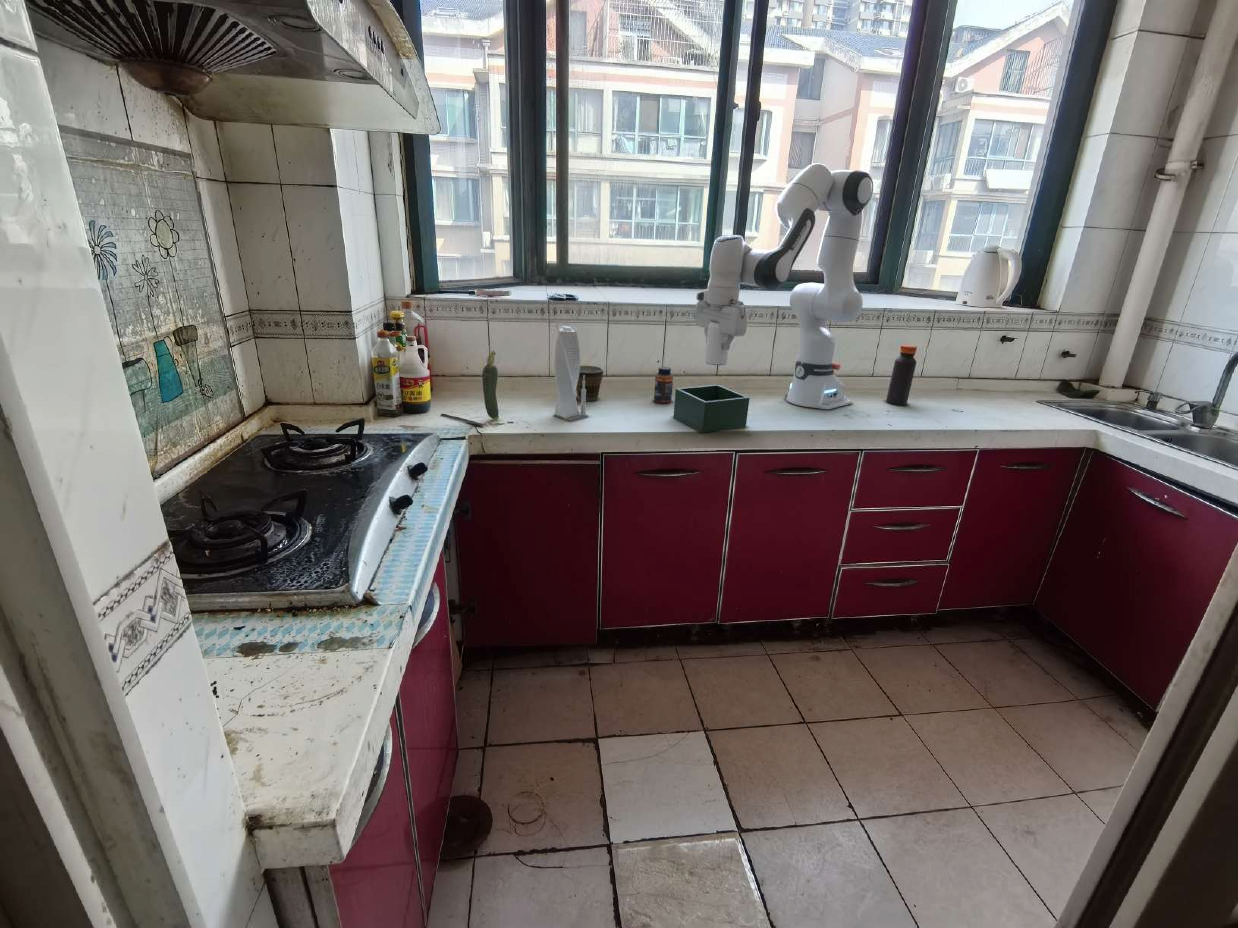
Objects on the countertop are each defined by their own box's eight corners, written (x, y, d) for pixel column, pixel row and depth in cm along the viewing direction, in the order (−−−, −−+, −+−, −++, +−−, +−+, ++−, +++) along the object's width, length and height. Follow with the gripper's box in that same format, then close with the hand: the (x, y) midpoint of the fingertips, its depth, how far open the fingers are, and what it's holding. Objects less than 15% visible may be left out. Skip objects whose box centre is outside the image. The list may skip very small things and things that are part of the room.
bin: (715, 412, 188) (718, 384, 184) (745, 427, 175) (749, 397, 172) (673, 417, 181) (675, 388, 178) (702, 432, 168) (705, 402, 165)
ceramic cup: (585, 392, 202) (585, 364, 198) (608, 398, 197) (609, 369, 193) (560, 400, 192) (560, 370, 189) (583, 406, 187) (584, 375, 183)
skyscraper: (566, 422, 172) (567, 324, 161) (548, 415, 177) (548, 320, 166) (587, 416, 178) (589, 322, 167) (568, 410, 183) (570, 318, 172)
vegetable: (486, 422, 168) (483, 352, 161) (482, 418, 172) (479, 349, 164) (501, 421, 170) (499, 351, 163) (497, 416, 174) (494, 348, 166)
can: (726, 366, 168) (731, 323, 164) (703, 364, 169) (707, 321, 165) (727, 361, 174) (732, 320, 169) (705, 360, 175) (709, 318, 171)
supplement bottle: (674, 401, 198) (677, 367, 193) (666, 404, 193) (668, 370, 189) (659, 397, 201) (661, 364, 196) (650, 401, 196) (652, 367, 192)
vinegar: (910, 404, 207) (924, 347, 200) (899, 406, 204) (912, 348, 196) (893, 399, 212) (905, 343, 205) (881, 401, 209) (894, 345, 201)
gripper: (755, 302, 157) (748, 353, 163) (711, 293, 174) (706, 340, 179) (736, 302, 155) (730, 354, 160) (693, 293, 172) (688, 341, 177)
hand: (717, 347), depth 170 cm, fingers closed on can, 6 cm apart
